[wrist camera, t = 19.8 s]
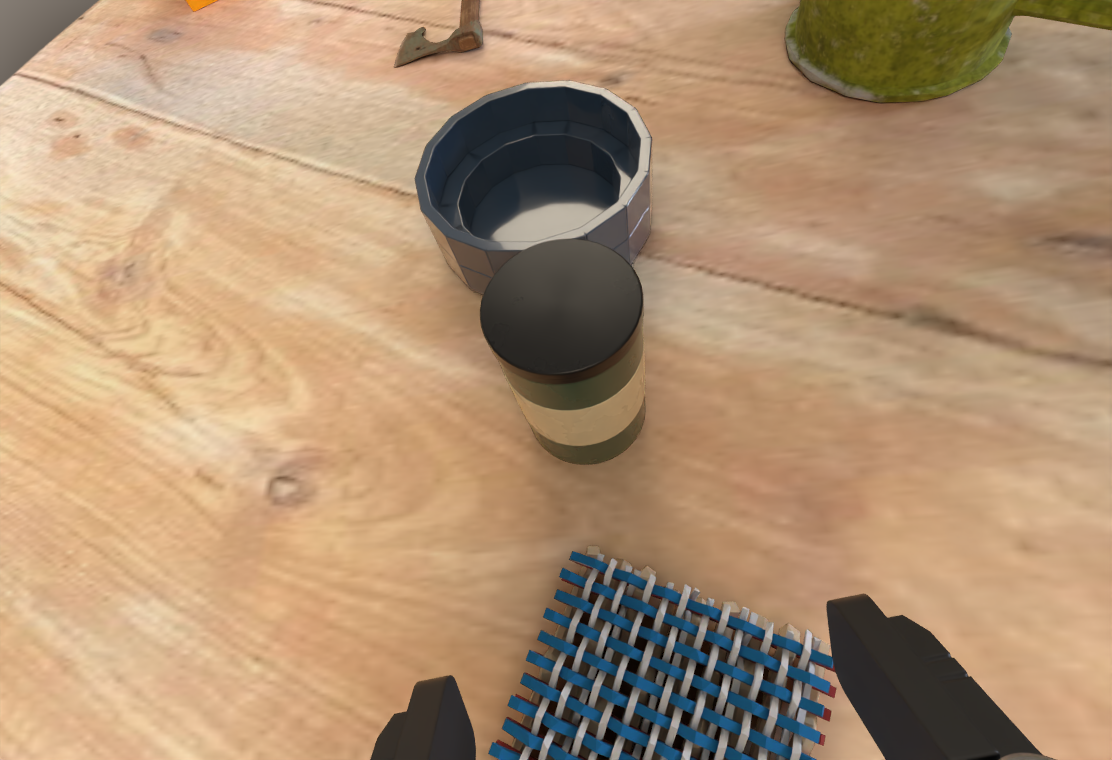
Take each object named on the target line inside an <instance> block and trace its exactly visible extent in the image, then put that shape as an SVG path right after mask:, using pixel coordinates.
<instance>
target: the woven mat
mask: <svg viewBox="0 0 1112 760" xmlns="http://www.w3.org/2000/svg"><path fill="white" fill-rule="evenodd" d="M604 556H605V555H602V554H601V553H600V550H599V546H588V548H587V551H586V555H583V554H580V553H577V552H574V551H572V553H571V556H570V558H569V560H570V561H572V562H575V563H577V564H579V565H582V567H581V569H580V572H579V574H578V575H577V574H575V573H573V572H571V571H569V570H567V569H564V568H562V570H561V573H560V576H559V577H561V578H562V581H565V582H567V583H569V584H572V585H574V587H573V589H572V592H571V594H568V593H566V592H563V591H560V590H558V589H557V591H556V594H555V596H554V599H556V600H558V601H560V602H562V603H565V604H567V605H566V607H565V610H564V612H563V615H562V614H560V613H557V612H555V611H553V610H551V609H549V608H546V610H545V613H544V616H543V617H544V618H546V619H548V620H550V621H552V622H555V623H557V624H559V625H558V627H557V630H556V633H555V635H554V636H553V635H551V634H549V633H547V632H544V631H542V630H541V631H540V634H539V637H538V639H537V640H539V641H541V642H543V643H545V644H547V645H549V646H550V647H549V648H548V650H547V652H546V653H545V655H542V654H539V653H537V652H534V651H531V650H529V653H528V655H527V658H526V661H528V662H530V663H533V664H535V665H537V666H539V667H540V671H539V676H538V678H536V677H534V676H532V675H530V674H528V673H524V674H523V677H522V679H521V682H520V683H521V684H523V685H524V686H526V687H528V688H530V689H531V690H533V692H532V694H531V697H530V699H529V700H527V699H525V698H523V697H521V696H519V695H517V694H516V696H513V695H511V698H510V700H509V703H508V706H509V707H511V708H513V709H515V710H517V711H519V712H521V713H523V714H524V715H523V717H522V720H521V723H519V722H517V721H515V720H513V719H511V718H509V717H507V718H506V719H505V722H504V725H503V727H502V729H503V730H504V731H506V732H507V733H509V734H510V735H512V736H513V737H515V738H514V741H513V743H512V746H509V745H508V744H506V743H504V742H502V741H500V740H497V741H496V743H494V742H493V743H492V745H491V748H490V751H489V753H488V754H490V755H492V756H494V757H496V758H498V759H500V760H596V758H597V755H598V754H600V755H603V756H606V757H609V760H699V757H700V755H701V758H700V760H708V758H709V753H710V751H711V752H714V756H713V760H769V758H770V754H771V752H773V753H775V754H777V756H776V760H817V759H814V758H812V757H810V753H811V751H812V749H813V747H814V744H815V743H817V744H820V745H822V746H824V741H825V735H823V734H821V732H819V731H817V716H818V717H820V718H822V719H824V720H827V721H830V716H831V712H832V711H831V710H829V709H827V708H825V707H824V705H822V704H819V703H818V700H819V695H820V692H821V693H824V694H826V695H828V696H830V697H833V698H834V697H835V693H836V688H835V687H833V686H831V685H830V682H828V681H826V680H824V679H823V677H824V672H825V668H826V669H828V670H831V671H833V672H836V671H835V668H834V664H833V659H832V657H831V656H828V654H829V649H830V645H829V644H827V643H825V642H823V641H822V640H820V639H818V638H816V637H813V638H812V633H811V632H810V631H809V630H808V629H807V630H806V631H805V637H804V645H802V644H801V643H800V631H798V630H797V629H796V628H794V627H793V626H792V625H790V624H789V623H788V624H786V625H785V626H783V627H781V628H780V629H779V635H776V634H773V625H774V622H768V619H767V618H765V617H763V616H761V615H759V614H756V613H753V612H752V613H751V614H750V618H749V621H748V622H747V621H746V620H747V617H748V613H749V610H750V609H748V608H746V607H742V611H741V614H740V610H739V608H738V606H737V605H736V603H735V601H733V602H723V603H722V606H721V610H719V609H717V608H714V607H713V604H714V601H715V600H714V599H711V598H708V599H707V602H706V601H705V600H704V599H702V598H698V595H699V594H700V591H699V590H698V589H697V588H696V587H695V588H694V590H693V592H692V593H691V595H690V591H691V587H689V586H688V585H686V584H685V586H684V590H683V593H682V594H680V592H679V591H678V590H676V589H673V587H674V583H670V582H668V583H667V586H665V587H662V586H658V585H655V584H654V583H655V580H656V577H655V574H656V572H655V571H654V570H652V569H651V568H649V567H648V566H646V567H644V568H643V569H642V570H641V571H639V570H636V569H635V571H634V574H632V573H631V570H632V567H631V564H630V563H629V562H627V561H625V560H622V559H616V560H614V559H613V558H612V559H611V561H610V563H609V565H608V564H606V563H604V562H603V559H604ZM598 573H600V574H603V575H605V577H604V581H603V585H602V584H599V583H596V582H594V580H595V579H596V577H597V575H598ZM626 585H627V586H628V589H627V591H626V593H625V595H624V594H623V592H624V589H625V587H626ZM590 592H591V593H594V594H596V595H599V596H598V598H597V601H596V603H595V605H594V604H592V603H589V602H588V600H589V596H590ZM689 595H690V597H689ZM650 596H653V597H656V598H659V599H661V601H660V604H659V607H658V609H656V608H655V607H653V606H651V605H649V604H648V602H649V599H650ZM619 604H620V605H621V608H620V610H619V613H618V615H617V614H616V612H617V609H618V606H619ZM676 606H678V609H677V612H676V615H675V616H673V615H674V612H675V609H676ZM583 612H585V613H587V614H589V615H591V616H590V620H589V623H588V626H587V625H585V624H582V623H580V622H579V620H580V618H581V616H582V614H583ZM683 614H684V620H683V619H682V617H683ZM739 614H740V617H739V618H738V616H739ZM644 615H645V616H648V617H650V618H652V619H654V622H653V625H652V628H651V629H649V628H646V627H643V626H640V624H641V622H642V619H643V617H644ZM709 620H712V621H714V622H716V627H715V630H714V632H712V631H709V630H707V626H708V622H709ZM612 625H614V629H613V632H612V635H611V637H610V636H608V635H609V632H610V629H611V627H612ZM670 627H672V628H671V632H670V635H669V638H668V637H667V635H668V632H669V629H670ZM733 630H735V636H734V641H732V640H731V638H732V634H733ZM678 631H680V632H681V633H680V636H679V640H678V642H677V641H676V637H677V634H678ZM575 632H576V633H578V634H580V635H582V636H584V637H583V639H582V642H581V644H580V646H579V647H577V646H574V645H572V644H573V639H574V635H575ZM637 636H638V637H641V638H643V639H645V640H647V643H646V646H645V649H644V652H643V651H641V650H639V649H637V648H635V647H634V644H635V641H636V637H637ZM703 641H704V642H707V643H709V644H710V648H709V651H708V655H707V654H705V653H703V652H701V651H700V650H701V646H702V643H703ZM762 642H763V643H762ZM605 646H606V647H608V648H607V651H606V654H605V657H604V659H602V654H603V650H604V647H605ZM770 646H771V647H773V648H775V649H776V651H775V653H774V655H773V658H772V657H771V656H769V655H767V654H768V651H769V648H770ZM663 648H665V652H664V655H663V658H662V660H661V659H660V658H661V655H662V652H663ZM672 652H674V653H675V654H674V658H673V661H672V664H669V662H670V658H671V655H672ZM727 652H730V655H729V658H728V661H727V663H725V660H726V656H727ZM567 655H570V656H572V657H575V660H574V663H573V667H572V669H571V668H569V667H567V666H565V665H563V663H564V661H565V659H566V657H567ZM796 657H797V658H800V660H799V663H798V666H797V668H796V667H793V666H792V665H793V663H794V660H795V658H796ZM630 658H633V659H635V660H637V661H639V662H640V664H639V667H638V670H637V673H636V674H634V673H632V672H630V671H628V670H626V667H627V664H628V662H629V659H630ZM696 663H699V664H701V665H703V666H704V669H703V672H702V676H701V677H699V676H697V675H694V671H695V667H696ZM735 663H736V667H734V666H735ZM764 668H766V669H769V675H768V679H767V681H766V680H763V679H762V678H763V671H764ZM597 669H600V671H599V673H598V675H597V678H596V680H594V678H595V675H596V672H597ZM657 670H658V674H657V677H656V680H655V683H654V679H655V675H656V671H657ZM666 674H667V675H668V678H667V682H666V685H665V688H664V687H662V684H663V681H664V678H665V675H666ZM721 674H722V675H724V677H723V682H722V687H720V686H718V685H719V681H720V678H721ZM559 676H560V677H561V678H563V679H565V680H567V682H566V684H565V686H564V688H563V690H562V691H561V690H559V689H557V688H556V686H557V681H558V677H559ZM788 678H789V679H792V680H794V684H793V691H792V692H791V691H789V690H788V689H786V688H785V687H786V683H787V679H788ZM731 679H732V680H733V683H732V687H731V691H729V687H730V682H731ZM622 680H623V681H625V682H627V683H629V684H631V685H632V689H631V692H630V695H629V696H626V695H624V694H622V693H620V692H619V689H620V686H621V682H622ZM690 685H691V686H693V687H695V688H697V689H698V690H697V693H696V697H695V700H694V701H692V700H690V699H687V698H686V697H687V694H688V691H689V688H690ZM590 691H591V695H590V698H589V702H586V700H587V697H588V694H589V692H590ZM758 691H761V692H763V693H764V695H763V700H762V704H761V705H760V704H758V703H756V702H755V700H756V697H757V694H758ZM649 694H651V696H650V699H649V702H648V705H646V703H647V700H648V697H649ZM715 697H717V698H718V701H717V704H716V707H715V711H713V710H712V707H713V703H714V700H715ZM658 698H660V699H661V701H660V704H659V707H658V710H655V706H656V703H657V700H658ZM550 700H552V701H555V702H558V705H557V709H556V712H555V714H554V713H552V712H550V711H548V710H546V709H547V707H548V705H549V702H550ZM782 701H784V702H786V703H788V704H790V705H789V707H788V710H787V713H786V716H784V715H782V714H780V709H781V705H782ZM725 702H727V706H726V710H725V714H724V716H723V715H722V712H723V709H724V706H725ZM615 704H616V705H618V706H621V707H624V708H625V711H624V714H623V717H622V720H620V719H619V718H617V717H615V716H614V715H612V714H611V713H612V710H613V707H614V705H615ZM683 710H685V711H687V712H689V713H691V714H690V720H689V725H688V724H685V723H682V722H680V720H681V716H682V712H683ZM795 713H796V721H795V720H793V719H794V716H795ZM752 714H753V715H755V716H758V720H757V725H756V729H755V730H753V729H751V728H750V724H751V718H752ZM581 715H582V716H583V719H582V721H581V724H580V726H579V722H580V717H581ZM642 717H643V721H642V724H641V727H640V729H639V726H640V723H641V719H642ZM650 722H653V723H654V724H653V727H652V731H651V734H648V733H647V731H648V728H649V725H650ZM709 722H710V725H709ZM742 722H743V723H742ZM541 723H543V724H544V725H545V726H547V727H548V728H549V730H548V732H547V734H546V737H545V736H543V735H541V734H539V733H538V731H539V728H540V724H541ZM708 726H709V728H708ZM718 726H719V727H721V729H720V733H719V737H718V740H717V739H715V738H714V736H715V733H716V730H717V727H718ZM777 726H779V727H781V728H782V733H781V738H780V742H778V741H776V740H774V736H775V731H776V727H777ZM606 727H608V728H609V729H611V730H612V731H614V732H615V733H617V735H616V738H615V741H614V744H612V743H610V742H608V741H606V740H605V739H603V737H604V734H605V730H606ZM790 732H792V733H793V735H792V737H791V739H790V741H789V737H790ZM676 734H678V735H680V736H682V737H683V738H684V741H683V743H682V746H681V749H680V750H679V749H677V748H675V747H673V743H674V740H675V737H676ZM738 738H739V739H738ZM573 739H575V740H574V744H573V747H572V750H569V748H570V746H571V744H572V741H573ZM747 740H749V741H751V742H752V746H751V750H750V754H749V755H748V754H746V753H744V752H743V750H744V748H745V745H746V742H747ZM634 742H635V743H636V744H635V747H634V751H633V754H632V753H631V751H632V748H633V745H634ZM788 742H789V744H788ZM643 746H644V747H646V751H645V754H644V757H643V758H641V757H640V755H641V752H642V748H643ZM532 749H536V750H539V751H540V755H539V758H538V759H537V758H534V757H531V756H529V755H530V753H531V751H532ZM701 752H702V754H701Z"/></svg>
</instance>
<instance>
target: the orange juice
mask: <svg viewBox="0 0 1112 760" xmlns="http://www.w3.org/2000/svg"><path fill="white" fill-rule="evenodd" d="M186 1H187V3H188V4H189V6H190V7H191V9H192V10H193V12H194V11H196V10H199V9H201V8H203V7H205V6H207V5H209V4H211V3H213V2H215V1H217V0H186Z"/></svg>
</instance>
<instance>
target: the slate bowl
mask: <svg viewBox="0 0 1112 760" xmlns="http://www.w3.org/2000/svg"><path fill="white" fill-rule="evenodd" d="M415 183H416V189H417V194H418V199H419V204H420V209H421V211H422V213H423V215H424V217H425V219H426V221H427V223H428V225H429V227H430V229H431V231H432V233H433V235H434V237H435V239H436V241H437V243H438V245H439V247H440V249H441V251H442V253H443V255H444V257H445V259H446V261H447V263H448V265H449V266H450V267H451V269H452V270H453V271H454V272H455V273H456V274H457V275H458V276H459V277H460V279H461V280H462V281H463V282H464V283H465V284H466V285H467V286H468V287H469V289H471V290H473V291H475V292H478V293H480V294H484V291H485V289H486V287H487V285H488V283H489V282H490V280H491V278H492V277H493V275H494V274H495V273H496V272H497V270H498V269H499V268H500V267H501V266H502V265H503V264H504V263H505V262H507V261H508V260H509V259H510V258H512V257H513V256H515V255H516V254H518V253H519V252H521V251H523V250H525V249H527V248H529V247H531V246H534V245H537V244H539V243H543V242H547V241H551V240H557V239H582V240H588V241H592V242H596V243H599V244H602V245H604V246H607V247H609V248H610V249H612V250H614V251H616V252H617V253H618V254H620V255H621V256H622V257H623V258H624V259H625V260H626V261H627V262H628V263H629V264H630V265H631V264H632V262H633V261H634V259H635V258H636V256H637V254H638V253H639V251H640V249H641V248H642V246H643V245H644V243H645V241H646V240H647V238H648V237H649V235H650V227H651V214H652V137H651V135H650V133H649V131H648V129H647V127H646V126H645V124H644V122H643V120H642V118H641V116H640V114H639V113H638V111H637V109H636V108H635V107H633V106H632V105H630V104H629V103H627V102H626V101H624V100H623V99H621V98H620V97H618V96H617V95H615V94H614V93H612V92H611V91H609V90H608V89H606V88H601V87H597V86H593V85H588V84H584V83H579V82H575V81H570V80H563V81H546V82H529V83H523V84H520V85H517V86H514V87H510V88H507V89H504V90H501V91H498V92H495V93H491V94H488V95H486V96H484V97H482V98H480V99H479V100H477V101H476V102H474V103H472V104H471V105H469V106H467V107H466V108H464V109H463V110H461V111H459V112H458V113H456V114H455V115H453V116H451V118H449V120H448V121H447V122H446V123H445V124H444V125H443V126H442V128H441V129H440V130H439V131H438V132H437V133H436V134H435V136H434V137H433V138H432V139H431V140H430V141H429V142H428V144H427V145H426V147H425V149H424V152H423V155H422V158H421V161H420V164H419V167H418V170H417V173H416V176H415Z"/></svg>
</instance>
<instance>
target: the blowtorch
mask: <svg viewBox="0 0 1112 760" xmlns="http://www.w3.org/2000/svg"><path fill="white" fill-rule="evenodd" d="M1014 16H1031V17H1037V18H1043V19H1049V20H1054V21H1060V22H1066V23H1072V24H1078V25H1083V26H1089V27H1095V28H1101V29H1107V30H1112V0H801V1H800V6H799V7H798V8H797V9H796V10H795V11H794V12H793V13H792V15H791V17H790V20H789V22H788V24H787V26H786V33H785V41H786V45H787V50H788V55H789V59H790V60H791V61H792V62H793V63H794V64H795V65H796V67H797V68H798V69H799V70H800V71H801V72H802V73H803V74H804V75H805V76H806V77H807V78H808V79H809V80H810V81H812V82H814V83H817V84H819V85H821V86H824V87H826V88H829V89H831V90H833V91H836V92H838V93H840V94H843V95H845V96H848V97H853V98H859V99H864V100H869V101H874V102H919V101H924V100H929V99H934V98H938V97H943V96H947V95H949V94H952V93H954V92H956V91H958V90H960V89H963V88H965V87H967V86H969V85H971V84H973V83H976V82H978V81H980V80H982V79H983V78H984V77H985V76H986V75H988V74H989V73H990V72H991V71H992V70H993V69H995V68H996V67H997V66H998V65H999V64H1000V62H1001V61H1002V60H1003V57H1004V54H1005V52H1006V49H1007V46H1008V43H1009V40H1010V38H1011V35H1012V33H1011V31H1010V29H1009V25H1010V24H1011V22H1012V20H1013V18H1014Z"/></svg>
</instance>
